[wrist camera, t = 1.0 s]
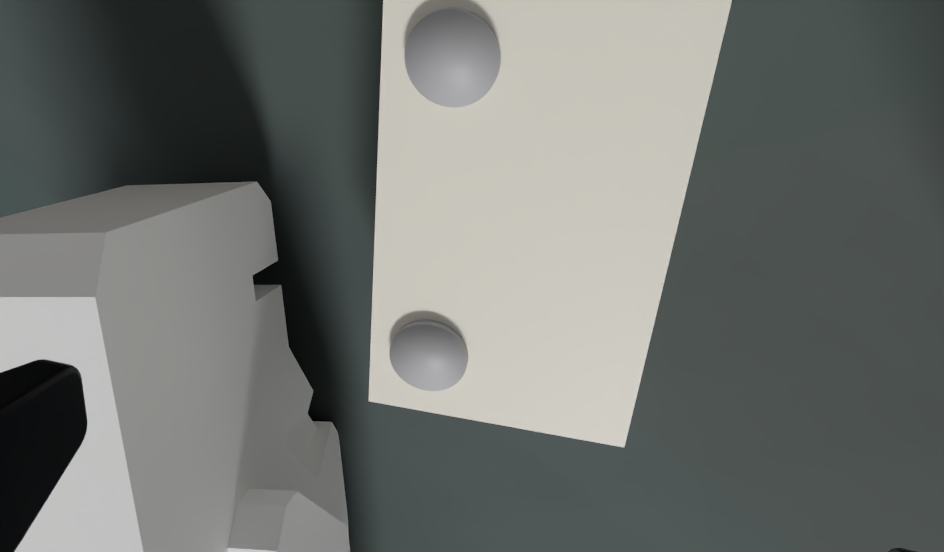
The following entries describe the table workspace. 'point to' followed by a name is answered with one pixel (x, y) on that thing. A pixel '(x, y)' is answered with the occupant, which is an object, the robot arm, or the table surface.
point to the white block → (531, 202)
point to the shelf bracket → (171, 375)
